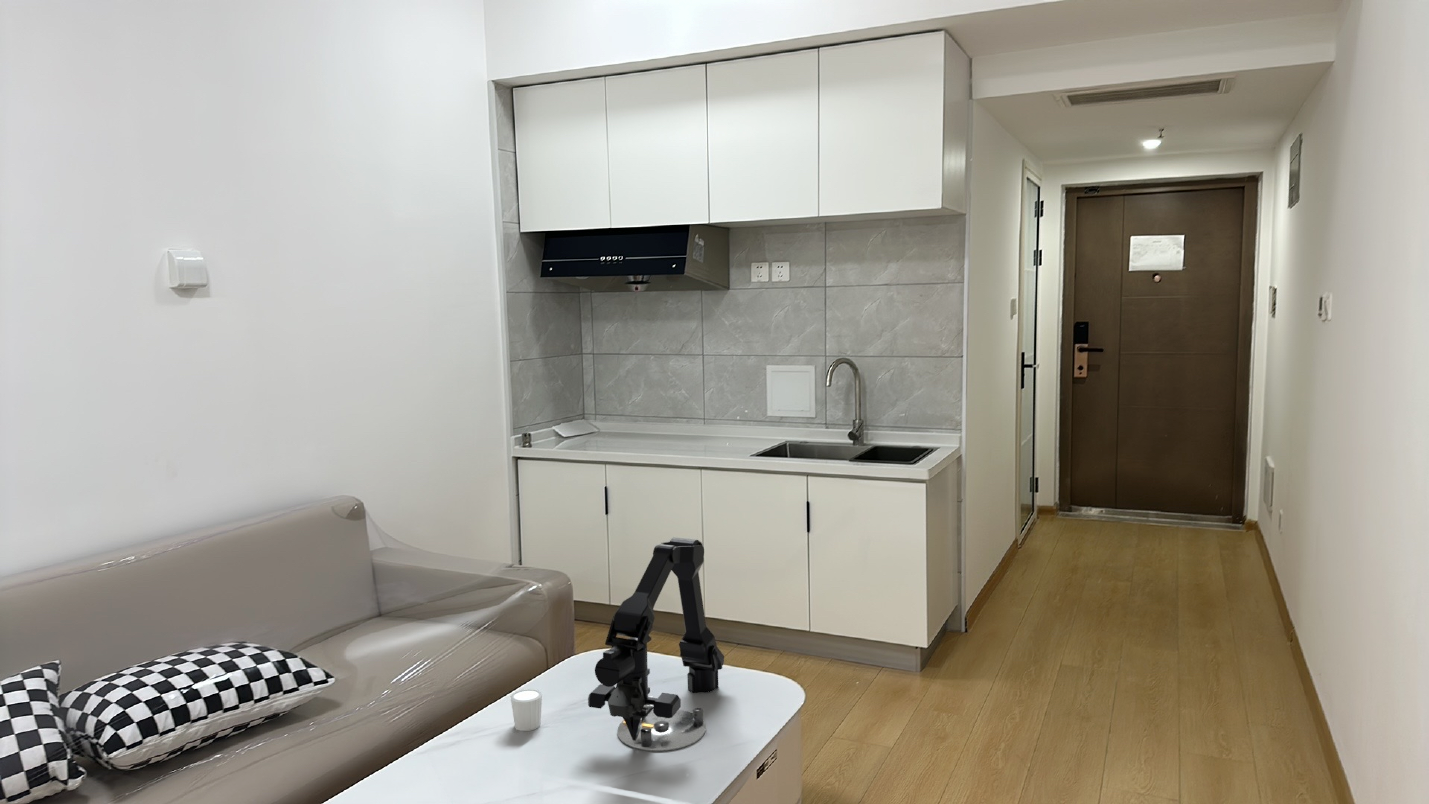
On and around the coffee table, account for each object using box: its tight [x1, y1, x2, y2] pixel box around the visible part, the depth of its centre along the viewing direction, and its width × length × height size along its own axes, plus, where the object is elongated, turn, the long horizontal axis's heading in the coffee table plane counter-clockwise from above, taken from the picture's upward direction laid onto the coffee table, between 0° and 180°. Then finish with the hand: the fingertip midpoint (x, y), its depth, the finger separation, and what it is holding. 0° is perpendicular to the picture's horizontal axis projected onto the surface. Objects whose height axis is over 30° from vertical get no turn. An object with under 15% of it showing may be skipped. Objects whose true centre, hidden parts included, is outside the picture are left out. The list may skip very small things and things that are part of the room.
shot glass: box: [510, 688, 543, 732], centre depth 208 cm, size 7×7×7 cm
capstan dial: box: [617, 707, 707, 752], centre depth 203 cm, size 19×19×4 cm
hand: (634, 739), depth 196 cm, fingers closed
